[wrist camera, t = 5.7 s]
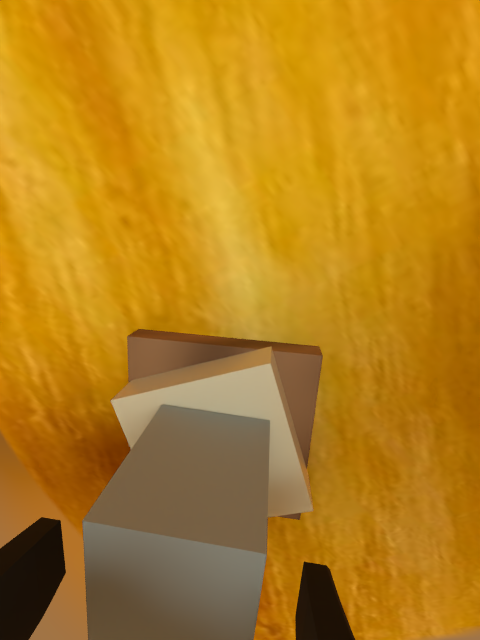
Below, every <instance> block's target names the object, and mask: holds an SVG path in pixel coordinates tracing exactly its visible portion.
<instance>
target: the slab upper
mask: <svg viewBox="0 0 480 640" xmlns="http://www.w3.org/2000/svg"><path fill="white" fill-rule="evenodd" d="M111 403H112V405H113V408H114V410H115V412H116V415H117V417H118V420H119V422H120V424H121V427H122V429H123V432H124V434H125V436H126V439H127V441H128V444H129V446H130V448H131V449H132V448H133V446H134V445H135V443H136V442H137V440H138V439H139V437H140V436H141V434H142V433H143V431H144V430H145V428H146V427H147V425H148V424H149V423H150V421H151V420H152V418H153V417H154V415H155V414H156V412H157V411H158V409H159V408H160V406H161V405H168V406H175V407H182V408H189V409H195V410H202V411H209V412H216V413H223V414H229V415H236V416H243V417H250V418H257V419H264V420H270V446H269V484H268V517H275V516H282V515H289V514H296V513H303V512H310V511H313V504H312V497H311V489H310V482H309V476H308V472H307V469H306V465H305V462H304V458H303V455H302V451H301V448H300V445H299V441H298V438H297V434H296V431H295V427H294V424H293V420H292V417H291V413H290V410H289V406H288V403H287V399H286V396H285V392H284V389H283V385H282V382H281V378H280V375H279V371H278V368H277V364H276V361H275V357H274V354H273V350H272V347H271V346H270V347H266V348H262V349H258V350H254V351H250V352H246V353H242V354H237V355H233V356H229V357H225V358H221V359H217V360H213V361H209V362H204V363H200V364H196V365H192V366H188V367H184V368H180V369H176V370H171V371H167V372H163V373H159V374H155V375H151V376H147V377H143V378H139V379H134V380H131V381H130V382H129V383H128V384H127V385H126V386H125V387H124V388H123V389H122V390H121V391H120V392H119V393H118V394H117V395H116V396H115V397H114V398H113V399H112V400H111Z"/></svg>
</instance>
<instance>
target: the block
mask: <svg viewBox="0 0 480 640" xmlns="http://www.w3.org/2000/svg"><path fill="white" fill-rule="evenodd" d="M269 446H270V420H264V419H257V418H250V417H243V416H236V415H229V414H223V413H216V412H209V411H202V410H195V409H189V408H182V407H175V406H168V405H161V406H160V408H159V409H158V411H157V412H156V414H155V415H154V417H153V418H152V420H151V421H150V423H149V424H148V425H147V427H146V428H145V430H144V431H143V433H142V434H141V436H140V437H139V439H138V440H137V442H136V443H135V445H134V446H133V448H132V449H131V450H130V452H129V453H128V455H127V456H126V458H125V459H124V461H123V462H122V464H121V465H120V467H119V468H118V470H117V471H116V472H115V474H114V475H113V477H112V478H111V480H110V481H109V483H108V484H107V486H106V487H105V489H104V490H103V492H102V493H101V494H100V496H99V497H98V499H97V500H96V502H95V503H94V505H93V506H92V508H91V509H90V511H89V512H88V514H87V515H86V517H85V518H84V519H83V540H84V561H85V580H86V581H85V582H86V602H87V624H88V640H253V639H254V632H255V626H256V620H257V613H258V607H259V600H260V594H261V587H262V581H263V575H264V568H265V562H266V555H267V523H268V484H269Z"/></svg>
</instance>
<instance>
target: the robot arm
mask: <svg viewBox="0 0 480 640" xmlns="http://www.w3.org/2000/svg"><path fill="white" fill-rule="evenodd" d="M65 573H66V571H65V561H64V551H63V541H62V531H61V521H60V520H55V519H49V518H43V517H42V518H40V519H39V520H37V521H36V522H35V523H33V524H32V525H31V526H29V527H28V528H27V529H26V530H24V531H23V532H21V533H20V534H19V535H17V536H16V537H15V538H13V539H12V540H11V541H10V542H9V543H7V544H6V545H4V546H3V547H2V548H1V549H0V640H29V638H30V637H31V635H32V633H33V632H34V630H35V629H36V627H37V625H38V624H39V622H40V621H41V619H42V617H43V616H44V614H45V611H46V610H47V608H48V606H49V604H50V602H51V600H52V599H53V596H54V595H55V593H56V590H57V589H58V587H59V585H60V583H61V581H62V579H63V577H64V575H65ZM296 640H355V638H354V636H353V633H352V631H351V628H350V626H349V623H348V620H347V618H346V615H345V613H344V610H343V607H342V604H341V602H340V599H339V596H338V593H337V590H336V587H335V584H334V581H333V578H332V575H331V572H330V569H329V568H328V567H327V566H326V565H320V564H314V563H309V562H304V565H303V571H302V577H301V584H300V590H299V597H298V603H297V609H296Z"/></svg>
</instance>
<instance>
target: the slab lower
mask: <svg viewBox="0 0 480 640" xmlns="http://www.w3.org/2000/svg"><path fill="white" fill-rule="evenodd" d="M127 338H128V373H129V382H130V381H131V380H134V379H139V378H143V377H147V376H151V375H155V374H159V373H163V372H167V371H171V370H176V369H180V368H184V367H188V366H192V365H196V364H200V363H204V362H209V361H213V360H217V359H221V358H225V357H229V356H233V355H237V354H242V353H246V352H250V351H254V350H258V349H262V348H266V347H270V346H271V347H272V350H273V354H274V357H275V361H276V364H277V368H278V371H279V375H280V378H281V382H282V385H283V389H284V392H285V396H286V399H287V403H288V406H289V410H290V413H291V417H292V420H293V424H294V427H295V431H296V434H297V438H298V441H299V445H300V448H301V451H302V455H303V458H304V462H305V465H306V469H307V464H308V457H309V450H310V442H311V435H312V428H313V421H314V414H315V407H316V399H317V392H318V385H319V378H320V371H321V364H322V353H321V350H320V348H319V347H318V346H308V345H298V344H288V343H277V342H267V341H257V340H246V339H236V338H226V337H215V336H205V335H195V334H184V333H174V332H164V331H154V330H143V329H138V330H137V331H135V332H133V333H132V334H130V335H129V336H127ZM300 514H301V513H296V514H289V515H282V516H278V517H285V518H292V519H298V520H300Z"/></svg>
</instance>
